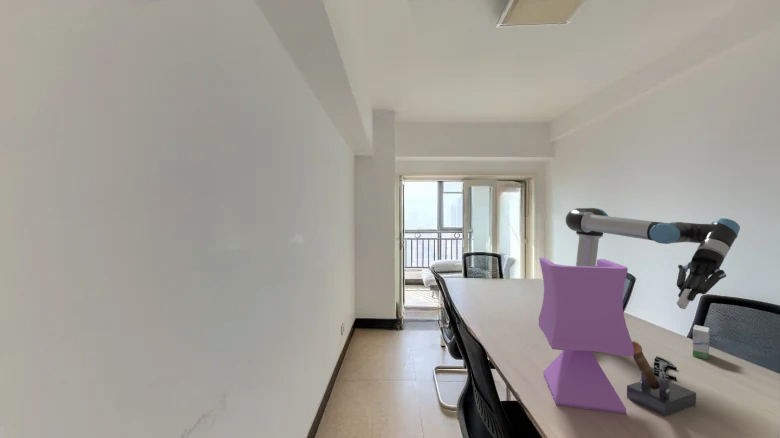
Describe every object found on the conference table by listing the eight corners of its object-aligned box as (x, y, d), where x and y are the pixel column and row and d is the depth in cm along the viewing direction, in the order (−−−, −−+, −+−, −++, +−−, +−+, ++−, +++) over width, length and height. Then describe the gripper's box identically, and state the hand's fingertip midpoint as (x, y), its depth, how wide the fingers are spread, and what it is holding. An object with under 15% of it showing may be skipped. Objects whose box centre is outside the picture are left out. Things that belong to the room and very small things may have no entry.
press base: (696, 405, 103) (696, 377, 103) (664, 416, 97) (665, 387, 97) (657, 387, 113) (657, 362, 113) (626, 397, 107) (626, 370, 107)
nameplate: (644, 353, 138) (676, 360, 132) (644, 357, 138) (675, 364, 132) (642, 378, 117) (678, 388, 111) (642, 382, 117) (678, 392, 111)
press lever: (664, 383, 102) (641, 341, 98) (658, 392, 101) (634, 350, 97) (650, 377, 106) (628, 336, 102) (644, 386, 105) (621, 345, 101)
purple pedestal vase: (604, 380, 118) (604, 259, 118) (633, 417, 96) (634, 269, 96) (538, 373, 124) (538, 257, 123) (552, 406, 102) (552, 266, 102)
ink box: (708, 360, 134) (708, 332, 134) (692, 356, 138) (692, 329, 138) (709, 353, 140) (709, 327, 140) (693, 350, 144) (694, 324, 143)
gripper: (739, 264, 109) (710, 318, 103) (691, 259, 121) (663, 307, 116) (730, 249, 107) (700, 304, 102) (683, 246, 119) (654, 294, 114)
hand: (680, 306), depth 109 cm, fingers closed
